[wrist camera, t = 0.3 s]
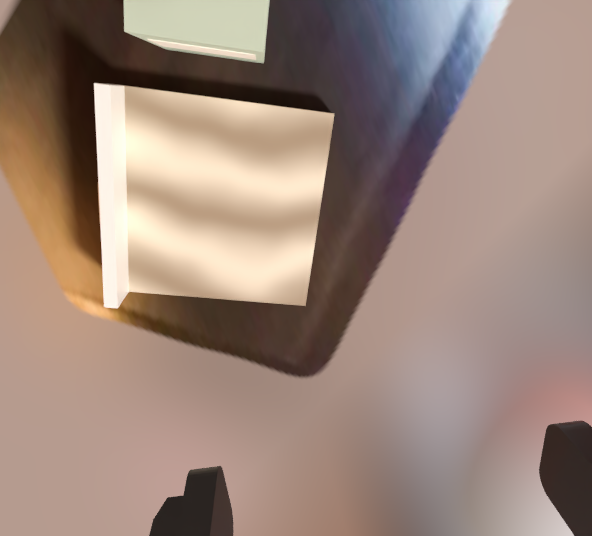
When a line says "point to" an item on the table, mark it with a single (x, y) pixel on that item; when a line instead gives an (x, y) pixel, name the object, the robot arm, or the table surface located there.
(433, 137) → the table surface
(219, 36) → the carton
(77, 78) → the table surface
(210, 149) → the shelf board
